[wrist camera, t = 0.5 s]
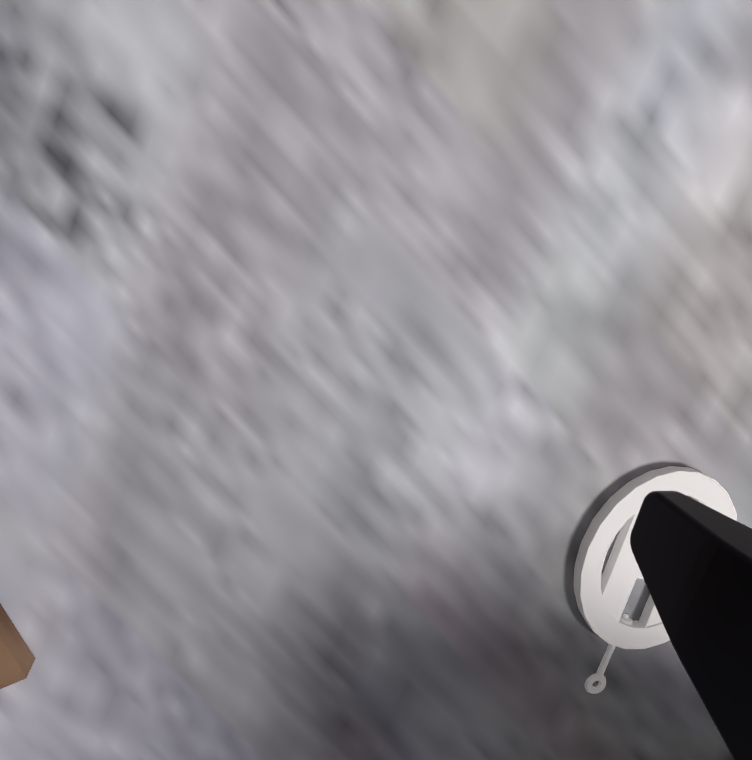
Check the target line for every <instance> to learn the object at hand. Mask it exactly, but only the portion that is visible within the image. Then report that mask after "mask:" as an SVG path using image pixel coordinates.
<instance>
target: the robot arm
mask: <svg viewBox="0 0 752 760" xmlns="http://www.w3.org/2000/svg"><path fill="white" fill-rule="evenodd" d="M630 545H631V550H632V553H633V555H634V557H635V560H636V562H637V564H638V567H639V569H640V571H641V574H642V576H643V578H644V581H645V583H646V585H647V588H648V590H649V592H650V595H651V597H652V600H653V602H654V604H655V607H656V609H657V611H658V614H659V616H660V618H661V621H662V623H663V625H664V628H665V630H666V632H667V634H668V636H669V639H670V641H671V643H672V645H673V647H674V649H675V651H676V653H677V655H678V657H679V659H680V661H681V662H682V664H683V666H684V668H685V670H686V672H687V674H688V675H689V677H690V679H691V681H692V683H693V685H694V686H695V688H696V690H697V692H698V694H699V696H700V697H701V699H702V701H703V703H704V705H705V707H706V708H707V710H708V712H709V714H710V716H711V718H712V720H713V721H714V723H715V725H716V727H717V729H718V731H719V732H720V734H721V736H722V738H723V740H724V742H725V743H726V745H727V747H728V749H729V751H730V753H731V755H732V756H733V758H734V760H752V529H751V528H749V527H747V526H745V525H743V524H741V523H739V522H737V521H735V520H733V519H731V518H730V517H728V516H726V515H724V514H722V513H720V512H718V511H716V510H714V509H712V508H710V507H708V506H706V505H704V504H702V503H700V502H698V501H696V500H694V499H692V498H690V497H688V496H686V495H684V494H682V493H680V492H677V491H652V492H650V493H648V494H647V495H646V496H645V498H644V500H643V503H642V505H641V508H640V510H639V513H638V516H637V518H636V521H635V524H634V526H633V529H632V531H631V535H630Z"/></svg>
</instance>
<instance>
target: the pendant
mask: <svg viewBox="0 0 752 760" xmlns="http://www.w3.org/2000/svg"><path fill="white" fill-rule="evenodd" d="M652 491H677V492H680V493H682V494H684V495H686V496H691V497H690V498H692V499H694V500H696V501H698V502H700V503H702V504H704V505H706V506H708V507H710V508H712V509H714V510H716V511H718V512H720V513H722V514H724V515H726V516H728V517H730V518H731V519H733V520H735V521H737V514H736V510H735V507H734V505H733V503H732V501H731V498H730V496H729V494H728V493H727V492H726V491H725V490H724V488H723V487H722V486H721V485H720V484H719V483H718V482H717V481H716V480H714V479H713V478H711V477H709V476H707V475H705V474H703V473H701V472H699V471H696V470H694V469H692V468H690V467H677V466H668V467H664V468H659V469H655V470H651V471H648V472H646V473H644V474H642V475H640V476H639V477H637V478H635V479H633V480H631V481H629V482H628V483H626V484H625V485H624V486H623V487H622V488H621V489H619V490H618V491H617V492H616V493H615V494H613V495H612V496H611V497H610V498H609V499H608V500H607V501H606V503H605V504H604V505H603V507H602V508H601V509H600V510H599V512H598V513H597V514H596V515H595V517H594V518H593V519H592V521H591V523H590V525H589V527H588V529H587V531H586V533H585V535H584V537H583V539H582V541H581V544H580V547H579V551H578V555H577V558H576V562H575V566H574V593H575V597H576V602H577V606H578V609H579V611H580V612H581V614H582V616H583V618H584V619H585V621H586V623H587V624H588V625H589V627H590V628H591V629H592V630H593V631H594V632H595V633H596V634H597V635H598V636H599V637H601V638H602V639H603V640H604V641H606V642H607V643H608V644H609V645H608V647H607V649H606V651H605V654H604V656H603V658H602V661H601V663H600V665H599V667H598V670H597V672H596V673H595V674H593V675H591V676H590V677H588V678H587V680H586V681H585V685H584V686H585V690H586V691H587V692H589V693H591V694H597V693H600V692H601V691H602V690H603V689H604V688H605V686H606V677H605V676H604V675H603V674H604V672H605V670H606V668H607V665H608V663H609V661H610V658H611V656H612V654H613V652H614V649H615V647H616V646H617V647H620V648H623V649H646V648H650V647H653V646H656V645H660V644H663V643H665V642H667V641H669V640H670V639H669V636H668V634H667V632H666V630H665V628H664V625H663V623H662V621H661V618H660V616H659V614H658V611H657V609H656V607H655V604H654V602H653V600H652V597H651V595H649V597H648V600H647V602H646V604H645V607H644V609H643V612H642V614H641V616H640V619H639V620H632V619H631V618H628V617H629V616H628V614H622V613H623V610H624V608H625V605H626V603H627V601H628V598H629V596H630V593H631V591H632V588H633V586H634V584H635V581H636V579H637V578H640V579H644V578H643V576H642V574H641V571H640V569H639V567H638V564H637V562H636V560H635V557H634V555H633V553H632V550H631V545H630V535H631V531H632V529H633V526H634V524H635V521H636V518H637V516H638V513H639V510H640V508H641V505H642V503H643V500H644V498H645V496H646V495H647V494H648V493H650V492H652ZM619 530H620V531H619ZM618 532H619V534H618V536H617V539H616V541H615V544H614V546H613V549H612V551H611V554H610V556H609V559H608V561H607V564H606V566H605V569H604V571H603V574H602V568H603V564H604V561H605V557H606V554H607V551H608V549H609V547H610V545H611V543H612V541H613V540H614V538H615V536H616V534H617V533H618ZM601 574H602V576H601ZM595 681H599V684H598V685H597V686H592V684H593V683H594V682H595Z"/></svg>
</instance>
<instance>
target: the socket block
mask: <svg viewBox="0 0 752 760" xmlns="http://www.w3.org/2000/svg"><path fill="white" fill-rule="evenodd" d="M34 660H35V657H34V656H33V654H32V653H31V651H30V650H29V648H28V646H27V645H26V643H25V642H24V640H23V639H22V637H21V635H20V634H19V632H18V631H17V629H16V628H15V626H14V624H13V623H12V621H11V620H10V618H9V617H8V615H7V613H6V612H5V610H4V609H3V607H2V606H1V604H0V689H1V688H4V687H6V686H9V685H11V684H13V683H16V682H18V681H20V680H23V679H25V678H26V677H27V675H28V673H29V671H30V669H31V667H32V664H33V662H34Z"/></svg>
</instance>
